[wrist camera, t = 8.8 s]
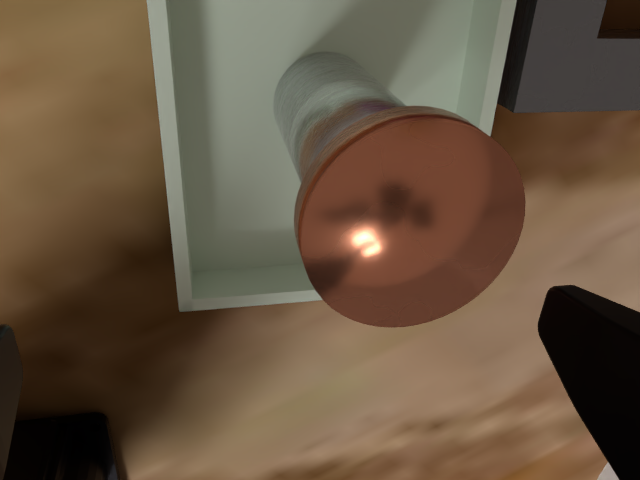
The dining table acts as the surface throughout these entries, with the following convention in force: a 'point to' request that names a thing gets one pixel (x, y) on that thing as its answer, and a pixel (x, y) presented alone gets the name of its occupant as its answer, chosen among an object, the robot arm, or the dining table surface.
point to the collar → (569, 60)
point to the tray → (261, 128)
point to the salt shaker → (393, 196)
